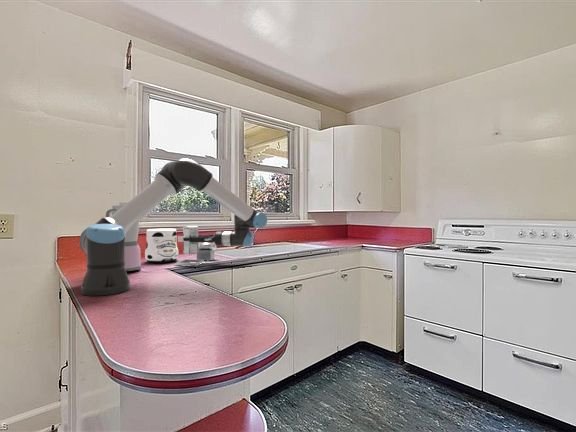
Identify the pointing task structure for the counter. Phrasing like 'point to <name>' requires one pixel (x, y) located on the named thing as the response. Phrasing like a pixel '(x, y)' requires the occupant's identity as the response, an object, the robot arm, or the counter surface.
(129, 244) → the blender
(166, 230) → the milk container
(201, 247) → the pillow block with shaft stub
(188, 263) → the steel flange
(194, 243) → the syrup box
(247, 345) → the counter surface
